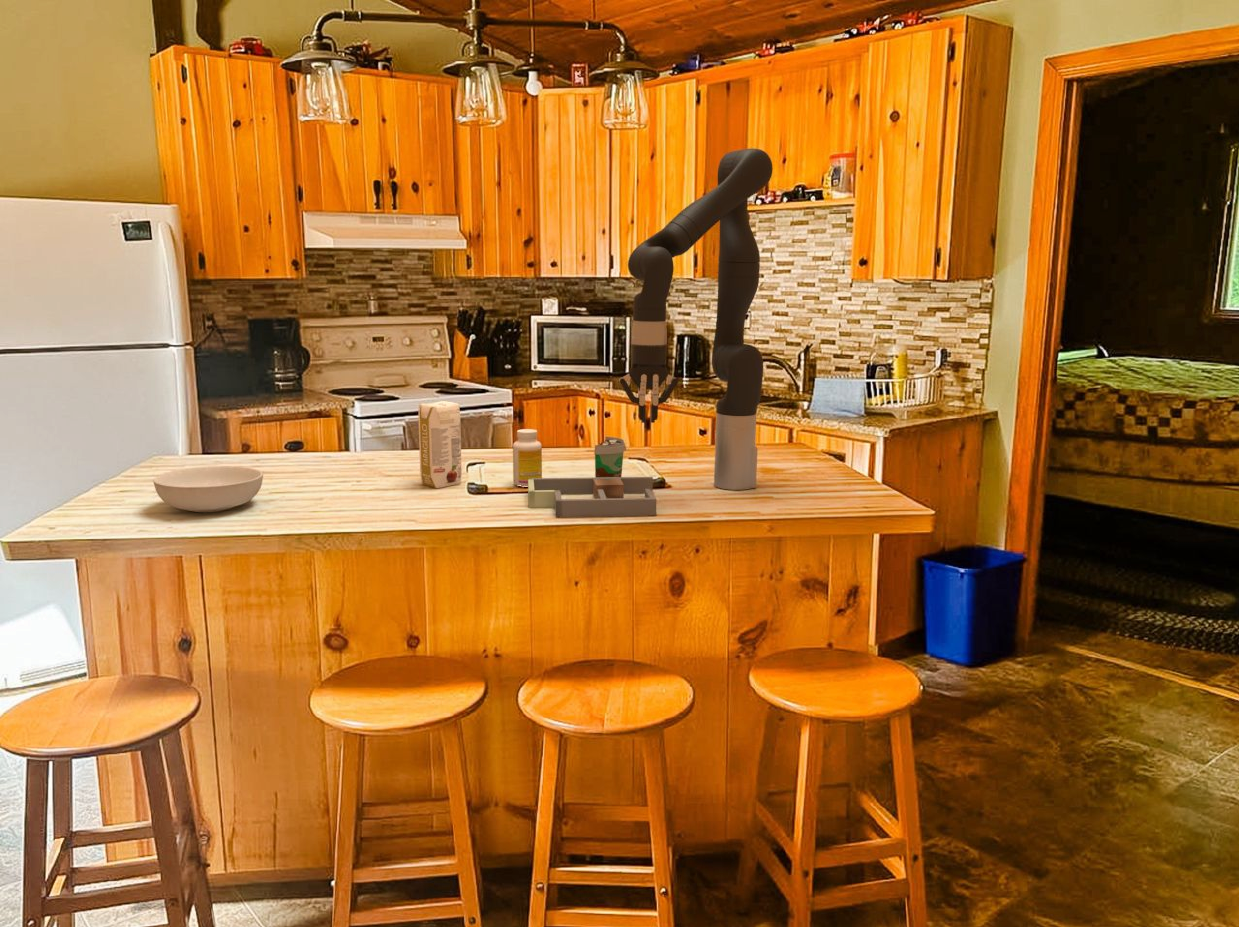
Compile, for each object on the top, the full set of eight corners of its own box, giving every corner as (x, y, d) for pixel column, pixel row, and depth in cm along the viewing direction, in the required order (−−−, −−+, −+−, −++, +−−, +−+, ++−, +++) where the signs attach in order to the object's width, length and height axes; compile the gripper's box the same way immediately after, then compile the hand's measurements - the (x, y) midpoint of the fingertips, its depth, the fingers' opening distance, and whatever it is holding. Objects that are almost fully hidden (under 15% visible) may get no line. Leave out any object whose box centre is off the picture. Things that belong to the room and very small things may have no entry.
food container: (620, 489, 218) (620, 446, 216) (594, 488, 219) (594, 445, 217) (630, 478, 230) (631, 437, 228) (605, 476, 231) (605, 436, 229)
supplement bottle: (547, 485, 221) (547, 431, 218) (523, 489, 217) (523, 434, 214) (531, 480, 226) (531, 427, 223) (507, 484, 222) (507, 430, 219)
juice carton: (466, 483, 222) (464, 403, 218) (435, 489, 215) (433, 407, 211) (446, 478, 227) (444, 399, 223) (416, 484, 220) (413, 403, 216)
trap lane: (651, 491, 216) (652, 476, 215) (665, 515, 196) (666, 499, 195) (528, 493, 213) (528, 478, 212) (529, 517, 193) (529, 501, 192)
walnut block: (619, 495, 213) (620, 478, 212) (623, 502, 207) (623, 484, 206) (593, 496, 212) (593, 478, 211) (596, 503, 206) (596, 485, 205)
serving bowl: (261, 516, 192) (259, 483, 190) (147, 523, 186) (144, 489, 184) (268, 492, 211) (266, 462, 210) (165, 498, 205) (162, 467, 204)
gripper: (677, 340, 208) (675, 419, 211) (615, 340, 206) (614, 419, 210) (683, 343, 200) (681, 424, 204) (619, 343, 199) (618, 425, 202)
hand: (647, 421), depth 207 cm, fingers closed
